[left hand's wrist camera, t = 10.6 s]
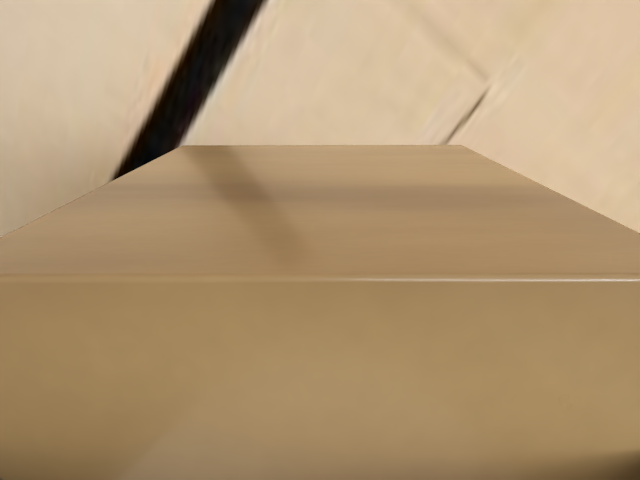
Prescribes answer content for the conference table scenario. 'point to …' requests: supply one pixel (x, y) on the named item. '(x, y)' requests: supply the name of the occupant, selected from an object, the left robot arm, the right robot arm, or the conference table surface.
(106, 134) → the conference table surface
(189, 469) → the box
